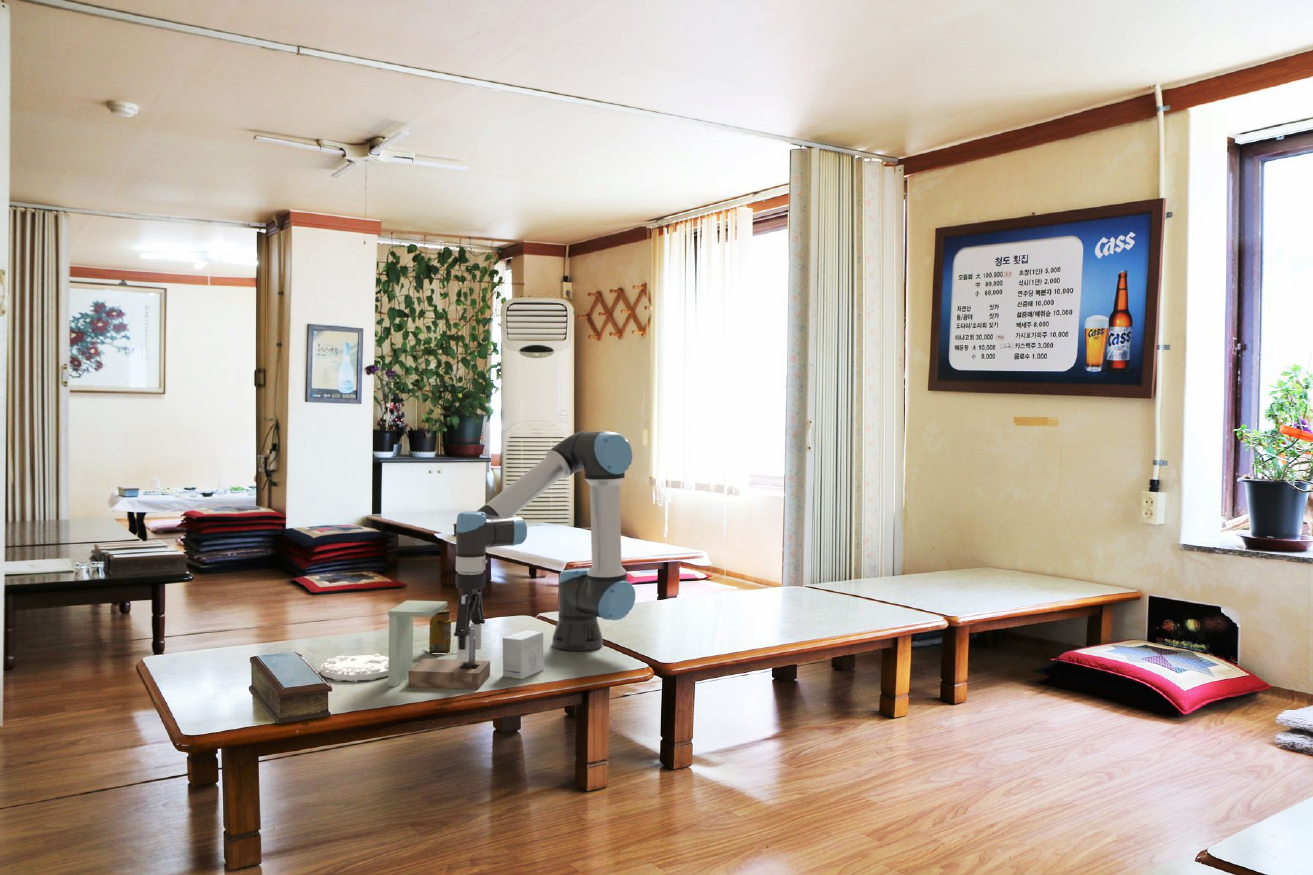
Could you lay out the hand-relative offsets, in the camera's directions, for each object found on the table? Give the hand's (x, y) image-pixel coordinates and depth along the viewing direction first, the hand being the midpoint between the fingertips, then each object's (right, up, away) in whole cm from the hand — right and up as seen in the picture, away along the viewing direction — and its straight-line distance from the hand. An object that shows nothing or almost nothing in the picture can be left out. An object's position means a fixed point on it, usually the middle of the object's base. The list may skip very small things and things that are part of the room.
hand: (469, 655), depth 242 cm
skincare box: (+12, -7, +9) cm, 17 cm away
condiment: (-14, -6, +30) cm, 34 cm away
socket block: (-5, -7, 0) cm, 9 cm away
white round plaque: (-31, -7, +8) cm, 32 cm away
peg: (0, -7, 0) cm, 7 cm away
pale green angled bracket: (-14, -7, +1) cm, 15 cm away
